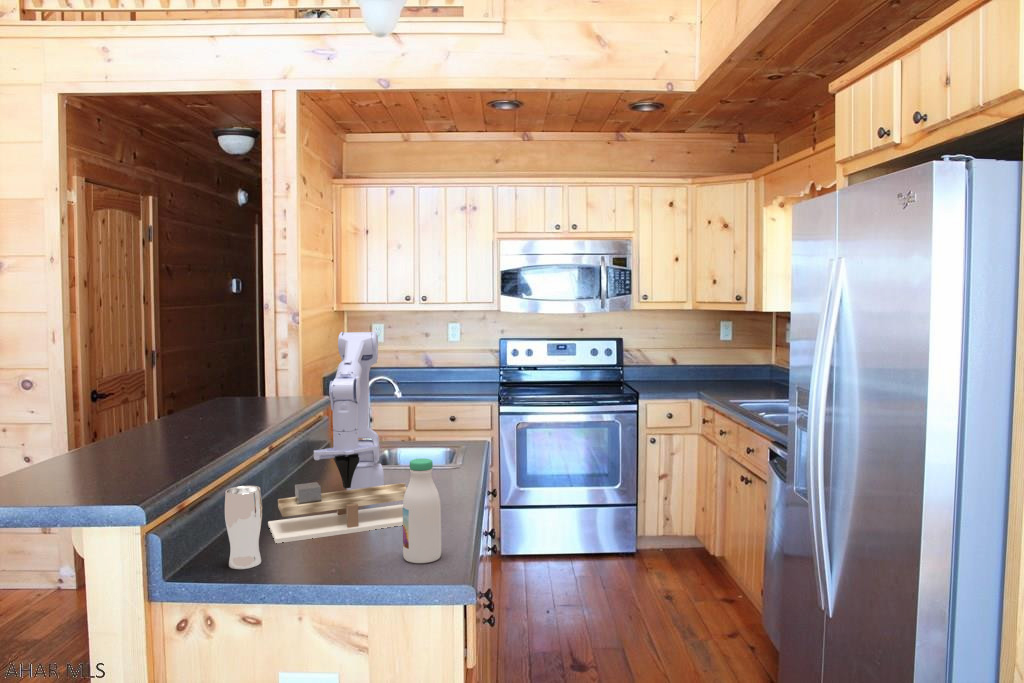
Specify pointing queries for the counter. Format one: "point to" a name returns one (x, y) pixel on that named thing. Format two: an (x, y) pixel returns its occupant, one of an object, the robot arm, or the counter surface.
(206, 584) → the counter surface
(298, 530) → the beam stand
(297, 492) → the block
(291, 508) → the balance beam
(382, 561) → the counter surface
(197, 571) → the counter surface
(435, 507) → the milk bottle
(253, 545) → the beer glass
